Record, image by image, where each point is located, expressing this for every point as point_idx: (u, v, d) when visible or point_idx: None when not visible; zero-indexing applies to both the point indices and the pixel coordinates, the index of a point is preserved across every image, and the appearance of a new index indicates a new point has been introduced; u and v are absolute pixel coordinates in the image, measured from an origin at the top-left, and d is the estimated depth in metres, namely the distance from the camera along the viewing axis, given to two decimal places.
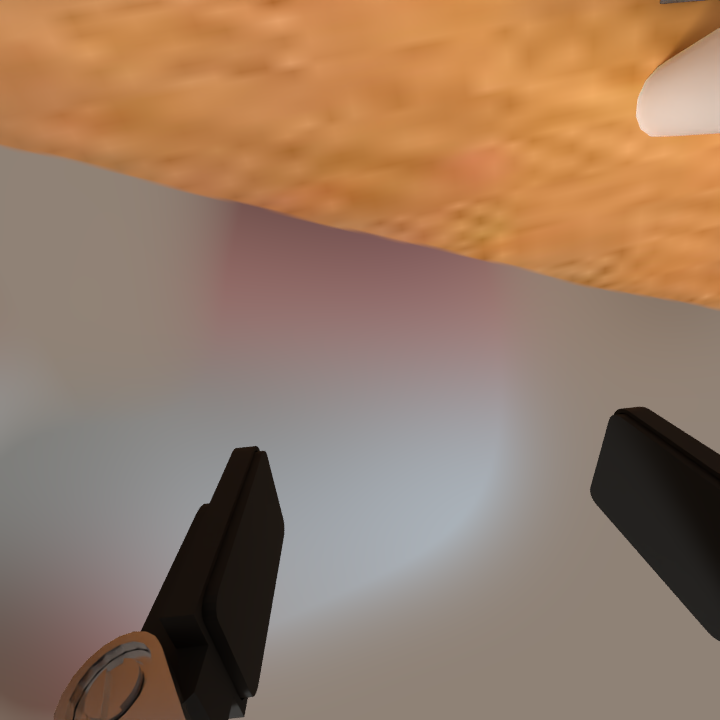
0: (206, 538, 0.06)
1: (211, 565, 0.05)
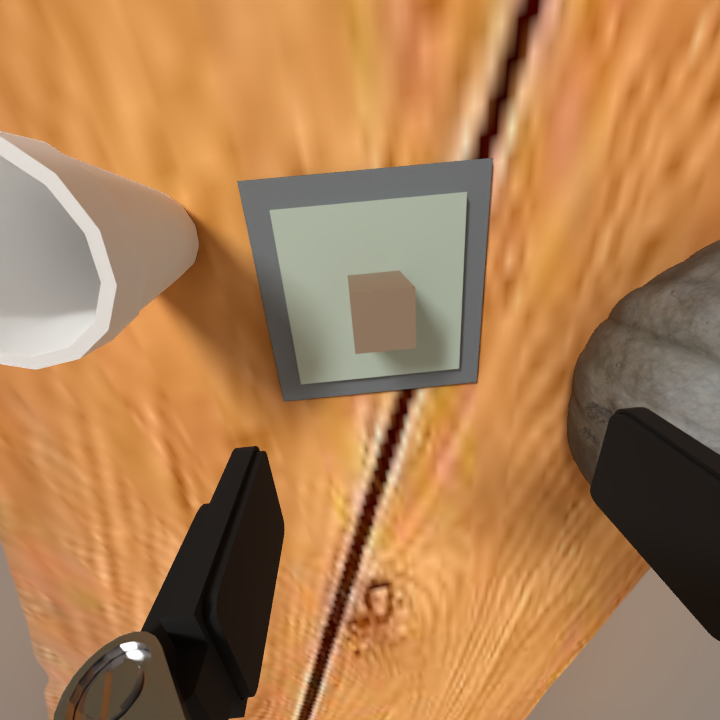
0: (206, 538, 0.06)
1: (211, 565, 0.05)
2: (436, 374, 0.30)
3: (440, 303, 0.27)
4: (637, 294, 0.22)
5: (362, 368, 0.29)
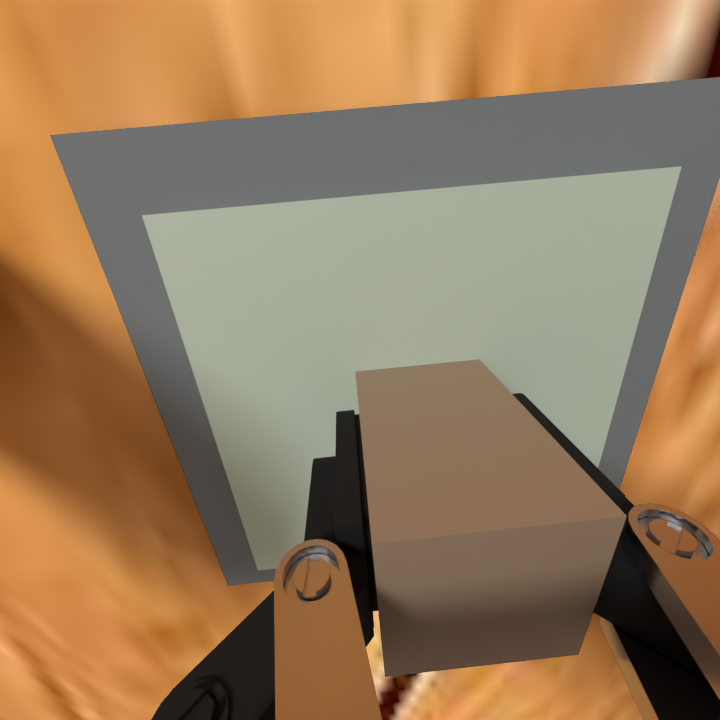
0: (345, 475, 0.07)
1: (360, 493, 0.07)
2: None
3: (564, 424, 0.12)
4: None
5: None
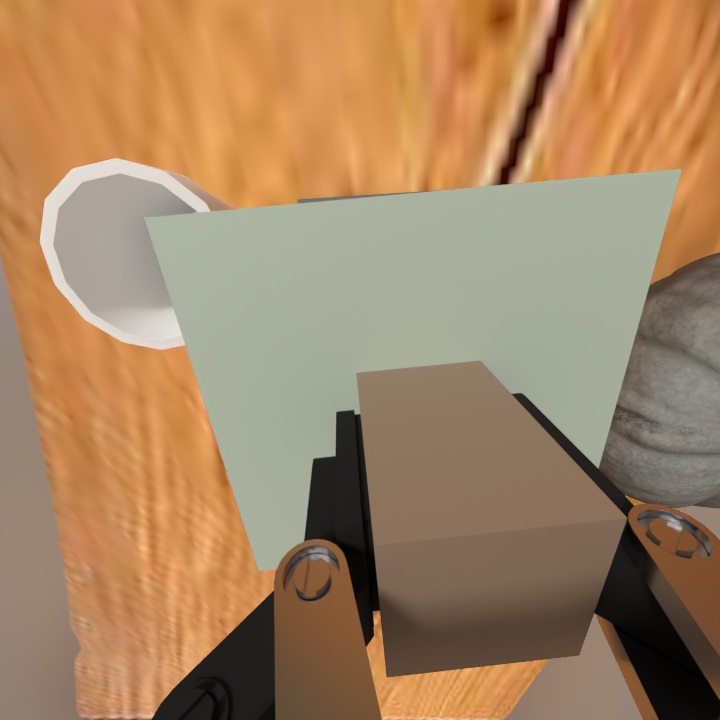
0: (345, 475, 0.07)
1: (360, 492, 0.07)
2: None
3: (564, 425, 0.12)
4: None
5: None
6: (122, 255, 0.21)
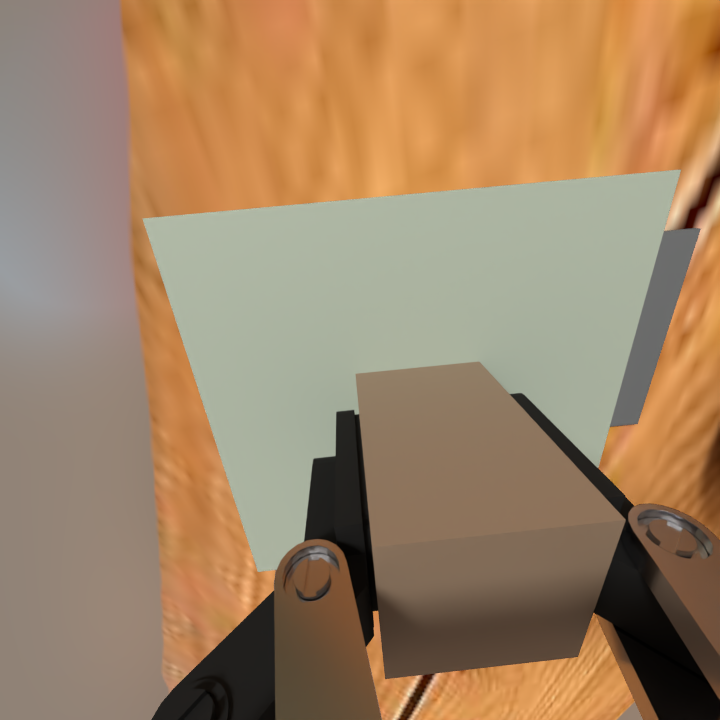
0: (345, 475, 0.07)
1: (360, 492, 0.07)
2: None
3: (563, 426, 0.12)
4: None
5: None
6: None
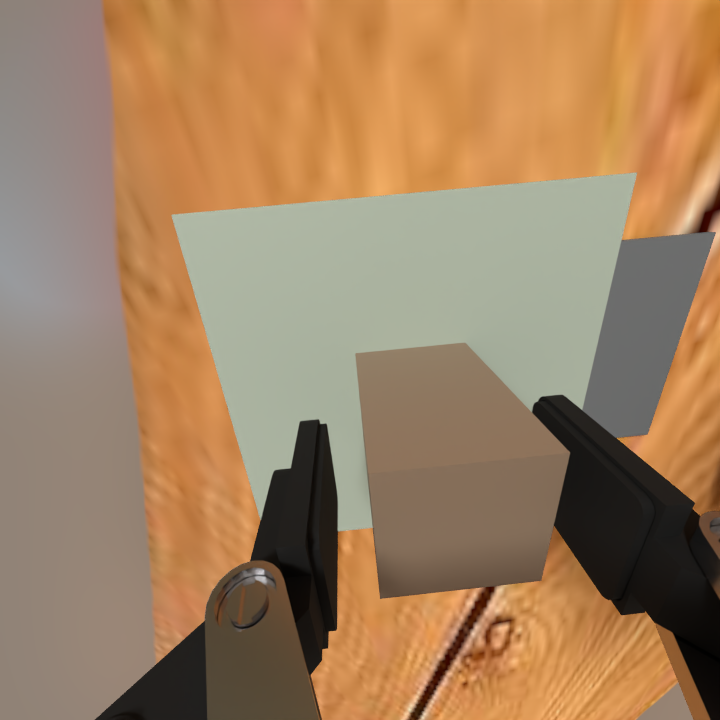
0: (297, 490, 0.07)
1: (308, 510, 0.06)
2: (611, 428, 0.31)
3: None
4: None
5: None
6: None
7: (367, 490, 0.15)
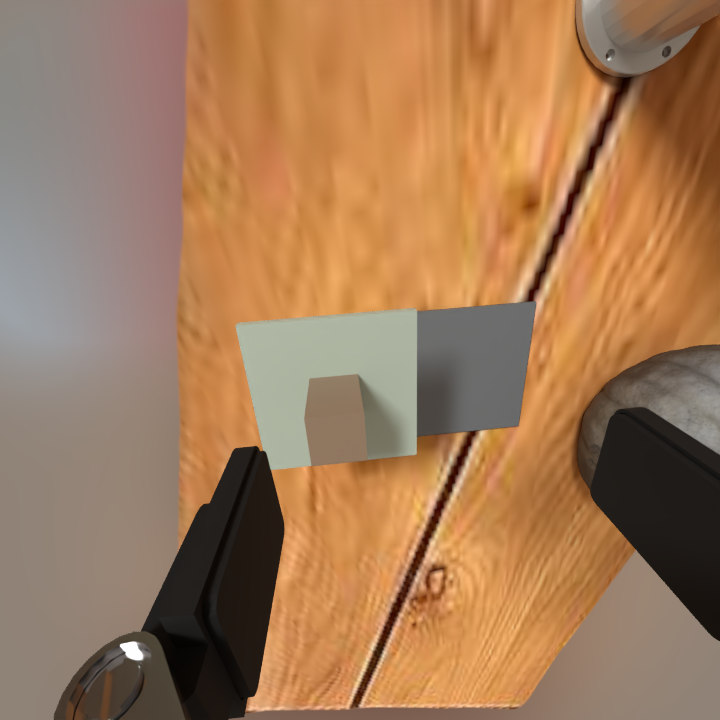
0: (206, 538, 0.06)
1: (211, 565, 0.05)
2: (493, 421, 0.47)
3: (397, 400, 0.29)
4: (619, 383, 0.40)
5: None
6: None
7: None
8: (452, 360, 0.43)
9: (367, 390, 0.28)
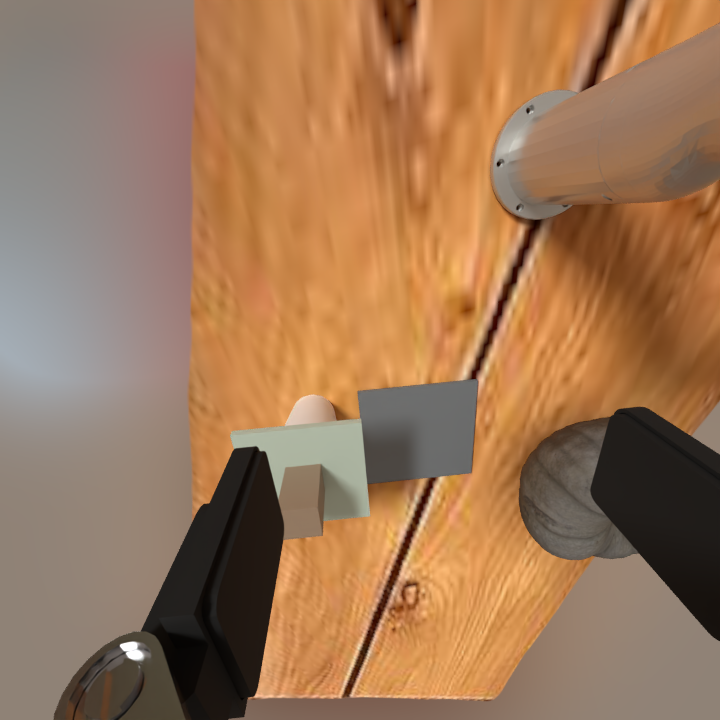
0: (206, 538, 0.06)
1: (211, 565, 0.05)
2: (449, 470, 0.56)
3: (351, 480, 0.39)
4: (544, 448, 0.48)
5: None
6: None
7: None
8: (411, 424, 0.52)
9: (328, 474, 0.38)
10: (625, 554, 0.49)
